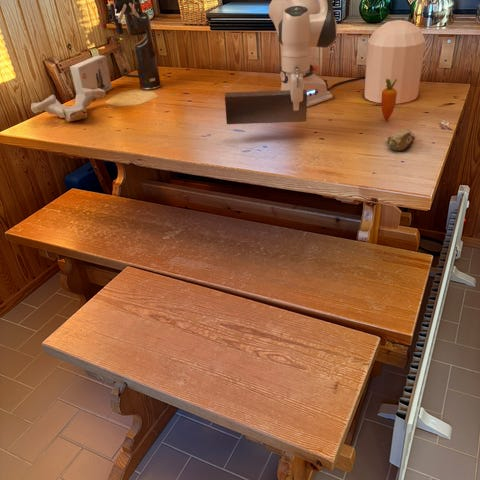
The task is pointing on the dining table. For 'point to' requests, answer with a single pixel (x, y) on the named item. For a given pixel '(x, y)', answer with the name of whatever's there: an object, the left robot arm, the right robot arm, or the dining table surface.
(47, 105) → the animal horns
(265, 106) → the bar
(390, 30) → the container
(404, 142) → the rock
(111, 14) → the left robot arm
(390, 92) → the carrot
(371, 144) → the dining table surface
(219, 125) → the dining table surface
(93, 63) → the skincare box
